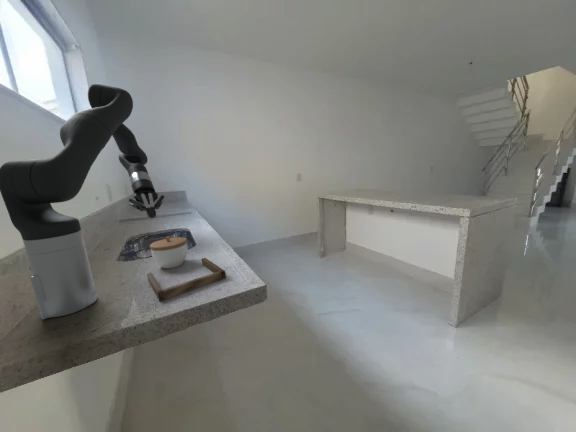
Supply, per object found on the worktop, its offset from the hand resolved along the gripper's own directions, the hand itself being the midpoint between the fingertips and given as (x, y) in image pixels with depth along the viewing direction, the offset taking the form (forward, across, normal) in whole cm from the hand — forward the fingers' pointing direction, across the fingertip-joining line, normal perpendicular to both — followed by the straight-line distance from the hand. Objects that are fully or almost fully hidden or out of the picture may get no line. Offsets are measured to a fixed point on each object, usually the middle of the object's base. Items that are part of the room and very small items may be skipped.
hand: (152, 216), depth 91 cm
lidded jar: (+25, 0, -5) cm, 25 cm away
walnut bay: (+35, 0, -16) cm, 39 cm away
